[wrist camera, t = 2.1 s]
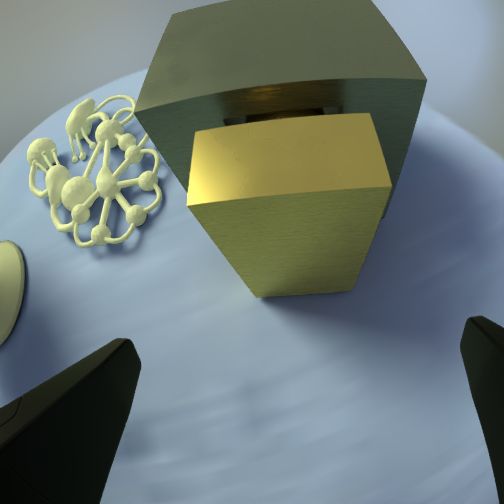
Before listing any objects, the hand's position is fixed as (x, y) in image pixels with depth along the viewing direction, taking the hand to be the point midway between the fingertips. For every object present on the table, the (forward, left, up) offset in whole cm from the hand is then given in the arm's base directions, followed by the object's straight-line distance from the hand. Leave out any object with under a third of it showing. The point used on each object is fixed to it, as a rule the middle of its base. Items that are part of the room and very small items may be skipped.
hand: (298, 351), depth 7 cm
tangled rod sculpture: (+26, -3, -12) cm, 29 cm away
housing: (+9, -11, -12) cm, 18 cm away
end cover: (+6, -8, -11) cm, 15 cm away
